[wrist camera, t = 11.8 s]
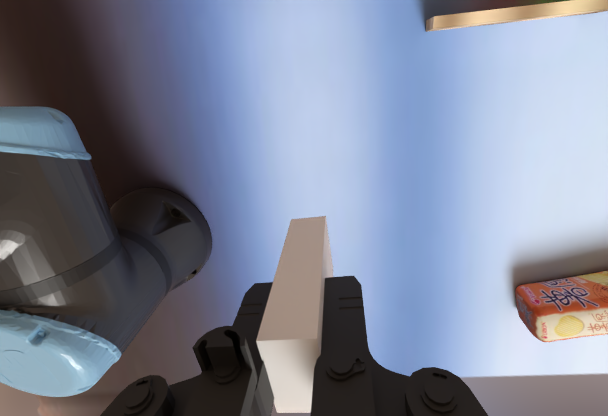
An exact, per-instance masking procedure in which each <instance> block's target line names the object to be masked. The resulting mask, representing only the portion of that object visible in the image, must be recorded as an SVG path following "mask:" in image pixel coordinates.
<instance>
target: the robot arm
mask: <svg viewBox="0 0 608 416" xmlns="http://www.w3.org/2000/svg"><path fill="white" fill-rule="evenodd" d="M90 159H91V155H90V154H89V153H87V151H86V149H85V147H84V145H83V143H82V141H81V138H80V136H79V134H78V132H77V130H76V128H75V125H74V124H73V122H72V121H71V119H70V118H69V117H68V116H67V115H65V114H64V113H63V112H61V111H59V110H57V109H54V108H50V107H39V106H23V107H0V382H1V383H3V384H6V385H8V386H11V387H13V388H16V389H19V390H21V391H25V392H29V393H33V394H37V395H43V396H51V397H65V396H72V395H76V394H79V393H82V392H84V391H86V390H88V389H89V388H91V387H92V386H93V385H95V384H96V383H97V382H98V380H99V379H100V378H101V377H102V376H103V375H104V373H105V372H106V371H107V370H108V369H109V368H110V367H111V365H112V364H113V363H115V362H117V361H118V360H119V358H120V357H121V355H122V353H123V352H124V351H125V349H126V348H127V347H128V345H129V344H130V343H131V341H132V340H133V339H134V337H135V336H136V335H137V333H138V332H139V331H140V329H141V328H142V327H143V325H144V324H145V323H146V321H147V320H148V319H149V317H150V316H151V315H152V313H153V312H154V310H155V309H156V308H157V306H158V305H159V304H160V302H161V301H162V300H163V298H164V297H165V296H166V295H167V293H168V292H170V291H172V290H173V289H175V288H177V287H178V286H180V285H182V284H183V283H185V282H186V281H188V280H190V279H191V278H193V277H194V276H195V275H197V274H198V273H199V272H200V270H201V269H202V268H203V266H204V265H205V263H206V262H207V260H208V259H209V257H210V254H211V250H212V237H211V232H210V229H209V227H208V224H207V222H206V220H205V219H204V217H203V216H202V214H201V213H200V212H199V211H198V210H197V208H196V207H195V206H194V205H192V204H191V203H190V202H189V201H188V200H186V199H185V198H183V197H182V196H180V195H178V194H176V193H174V192H171V191H169V190H165V189H161V188H153V187H148V188H140V189H137V190H134V191H132V192H130V193H128V194H127V195H125V196H123V197H122V198H120V199H119V200H118V201H116V202H115V203H114V204H113V205H112V207H111V208H110V210H109V207H108V205H107V202H106V200H105V197H104V195H103V192H102V190H101V187H100V184H99V182H98V179H97V177H96V174H95V172H94V169H93V167H92V164H91V161H90ZM193 350H194V353H195V355H196V358H197V360H198V363H199V365H200V367H201V370H202V373H201V374H200V375H198V376H196V377H193V378H191V379H188V380H185V381H182V382H178V383H175V384H172V385H169V386H168V384H167V382H166V380H165V379H164V378H162V377H161V376H156V375H150V376H147V377H143V378H140V379H138V380H137V381H135V382H133V383H132V384H130V385H128V386H127V387H126V388H125V389H124V390H123V391H122V392H121V393H120V394H119V395H118V396H117V397H116V398H115V399H114V401H113V402H112V403H111V404H110V405H109V406H108V407H107V408H106V410H105V411H104V412H103V413H102V414H101V415H100V416H271V413H272V407H273V402H274V404H275V407H276V410H277V413H299V412H301V413H307V412H308V413H311V416H488V415H487V413H486V412H485V410H484V409H483V407H482V406H481V404H480V403H479V402H478V400H477V399H476V397H475V396H474V394H473V393H472V391H471V390H470V388H469V387H468V386H467V385H466V384H465V383H464V382H463V381H462V380H461V379H460V378H459V377H458V376H456V375H454V374H453V373H451V372H449V371H447V370H443V369H440V368H436V367H431V368H422V369H420V370H418V371H415V372H413V373H412V375H411V376H410V377H409V376H406V375H402V374H398V373H395V372H392V371H390V370H387V369H385V368H384V367H382V366H381V365H379V364H378V363H377V362H376V361H375V360H374V359H373V357H372V355H371V354H370V352H369V348H368V343H367V334H366V325H365V316H364V307H363V298H362V289H361V284H360V283H359V282H358V281H357V279H356V278H355V277H354V276H343V277H333V265H332V258H331V251H330V244H329V236H328V229H327V222H326V216H322V217H312V218H301V219H291V222H290V226H289V229H288V233H287V236H286V239H285V243H284V246H283V250H282V253H281V257H280V260H279V264H278V267H277V271H276V274H275V277H274V281H273V282H270V283H255V284H254V285H253V286H252V287H251V288H250V289H249V290H248V291H247V292H246V293H245V296H244V298H243V301H242V303H241V307H240V308H239V311H238V313H237V316H236V318H235V321H234V323H233V326H223V327H218V328H215V329H213V330H211V331H209V332H207V333H206V334H205V335H203V336H202V337H201V338H200V339H198V341H197V342H196V344H195V345H194V346H193Z"/></svg>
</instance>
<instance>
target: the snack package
mask: <svg viewBox="0 0 608 416" xmlns="http://www.w3.org/2000/svg"><path fill="white" fill-rule="evenodd" d="M515 296H516V303H517V309H518V313H519V317H520V318H521V320H522V321H523V323H524V324H525V325H526V327H527V328H528V330H529V331H530V332H531V333H532V334H533V335H534V336H535V337H536V338H537V339H539V340H541V341H543V342H551V341H557V340H565V339H571V338H578V337H585V336H594V335H604V334H608V271H602V272H597V273H591V274H586V275H580V276H574V277H568V278H562V279H557V280H551V281H545V282H537V283H530V284H523V285H519V286H518V287H517V288H516V290H515Z"/></svg>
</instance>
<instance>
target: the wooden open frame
mask: <svg viewBox="0 0 608 416" xmlns="http://www.w3.org/2000/svg"><path fill="white" fill-rule="evenodd" d="M603 11H608V0H570V1H562V2H553V3H545V4H536V5H528V6H519V7H510V8H502V9H493V10H485V11H476V12H468V13H459V14H451V15H442V16H434V17H432V18H430V19H428V20H426V32H427V31H436V30H445V29H454V28H463V27H472V26H481V25H490V24H499V23H508V22H518V21H527V20H536V19H545V18H554V17H563V16H572V15H581V14H590V13H598V12H603Z"/></svg>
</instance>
